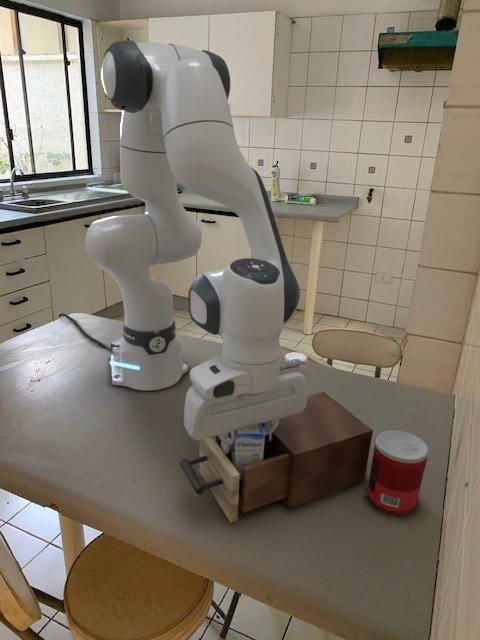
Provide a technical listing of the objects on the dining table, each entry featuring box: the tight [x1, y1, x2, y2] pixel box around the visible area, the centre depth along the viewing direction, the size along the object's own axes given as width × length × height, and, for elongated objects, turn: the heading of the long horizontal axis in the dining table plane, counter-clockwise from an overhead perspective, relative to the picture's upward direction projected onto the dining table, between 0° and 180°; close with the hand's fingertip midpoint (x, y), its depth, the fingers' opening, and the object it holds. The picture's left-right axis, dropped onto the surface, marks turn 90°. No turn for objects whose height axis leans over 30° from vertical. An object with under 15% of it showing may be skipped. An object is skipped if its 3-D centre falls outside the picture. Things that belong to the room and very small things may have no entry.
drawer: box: [179, 425, 292, 524], centre depth 76 cm, size 19×12×9 cm, turn 117°
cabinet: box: [262, 391, 374, 510], centre depth 81 cm, size 16×14×11 cm
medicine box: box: [231, 424, 265, 480], centre depth 74 cm, size 8×4×9 cm, turn 6°
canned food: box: [367, 429, 429, 515], centre depth 75 cm, size 8×8×11 cm
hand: (246, 445), depth 74 cm, fingers closed on medicine box, 5 cm apart
